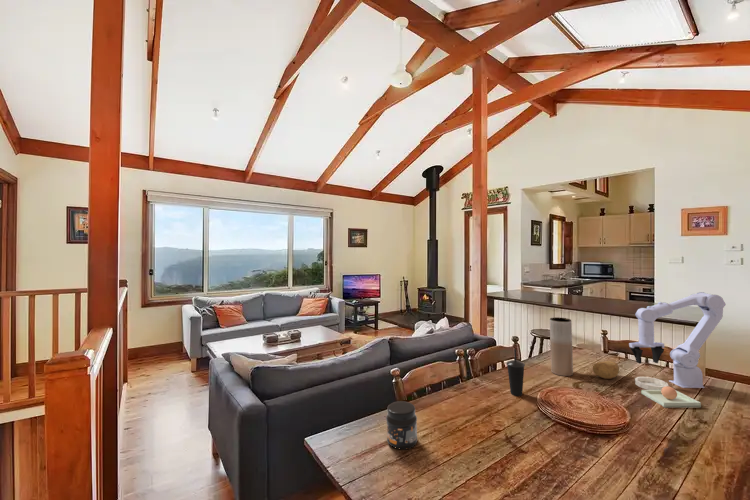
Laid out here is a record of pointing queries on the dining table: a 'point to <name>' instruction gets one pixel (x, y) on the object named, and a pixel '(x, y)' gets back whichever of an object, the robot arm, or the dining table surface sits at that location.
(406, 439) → the supplement container
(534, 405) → the dining table surface
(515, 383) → the drinking cup
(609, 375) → the potato
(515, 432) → the dining table surface
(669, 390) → the ball
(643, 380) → the dish
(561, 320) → the vase
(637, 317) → the robot arm
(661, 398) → the tray
